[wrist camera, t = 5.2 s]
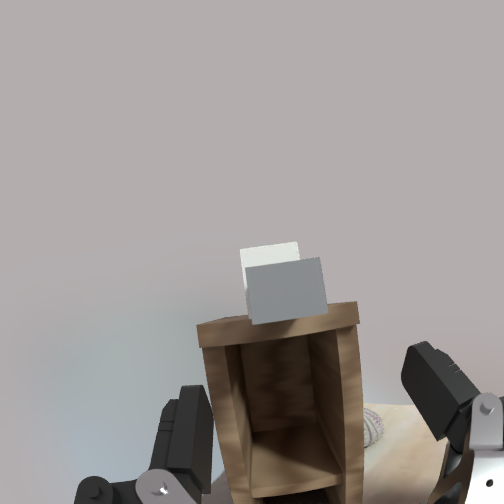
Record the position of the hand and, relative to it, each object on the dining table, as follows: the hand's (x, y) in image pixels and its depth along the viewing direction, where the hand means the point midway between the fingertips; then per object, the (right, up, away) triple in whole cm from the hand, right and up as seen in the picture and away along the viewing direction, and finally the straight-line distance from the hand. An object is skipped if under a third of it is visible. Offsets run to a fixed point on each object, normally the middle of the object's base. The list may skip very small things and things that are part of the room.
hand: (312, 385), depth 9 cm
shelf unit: (+4, -33, +17) cm, 38 cm away
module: (0, -1, +15) cm, 15 cm away
